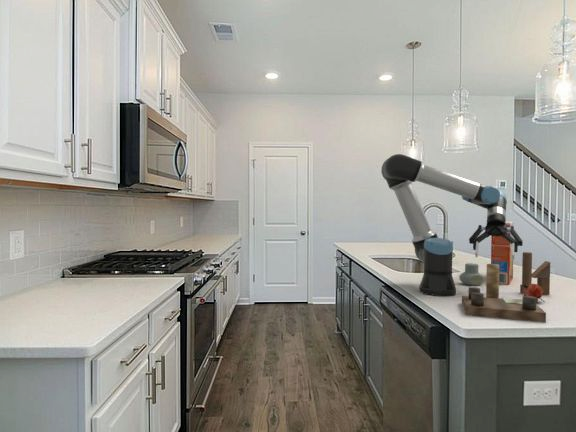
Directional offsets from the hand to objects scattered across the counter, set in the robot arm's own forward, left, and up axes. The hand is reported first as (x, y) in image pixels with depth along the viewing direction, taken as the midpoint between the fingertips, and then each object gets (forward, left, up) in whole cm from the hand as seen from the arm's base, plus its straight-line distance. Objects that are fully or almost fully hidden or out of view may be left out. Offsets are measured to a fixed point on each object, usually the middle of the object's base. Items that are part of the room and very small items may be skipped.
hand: (494, 256), depth 166 cm
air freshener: (-6, +27, -17) cm, 33 cm away
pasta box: (+10, +44, -17) cm, 49 cm away
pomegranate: (+14, -3, -17) cm, 22 cm away
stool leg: (-2, -11, -17) cm, 20 cm away
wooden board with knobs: (-2, -26, -17) cm, 31 cm away
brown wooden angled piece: (+18, +14, -17) cm, 29 cm away
